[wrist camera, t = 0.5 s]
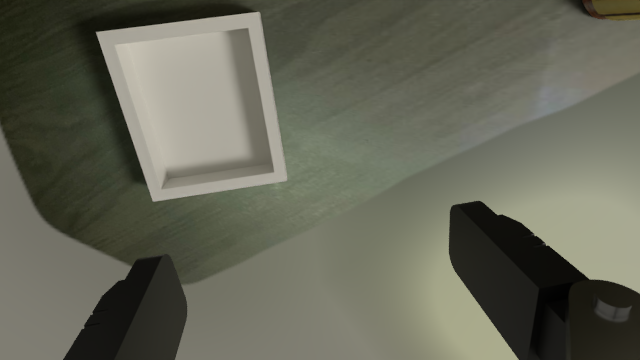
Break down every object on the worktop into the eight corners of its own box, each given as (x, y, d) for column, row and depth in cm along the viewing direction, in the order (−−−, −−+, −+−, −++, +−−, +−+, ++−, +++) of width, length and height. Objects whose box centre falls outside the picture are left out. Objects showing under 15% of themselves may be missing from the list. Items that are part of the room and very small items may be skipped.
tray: (112, 31, 29) (96, 32, 26) (260, 13, 30) (258, 11, 27) (162, 187, 35) (152, 201, 32) (286, 169, 35) (287, 180, 33)
